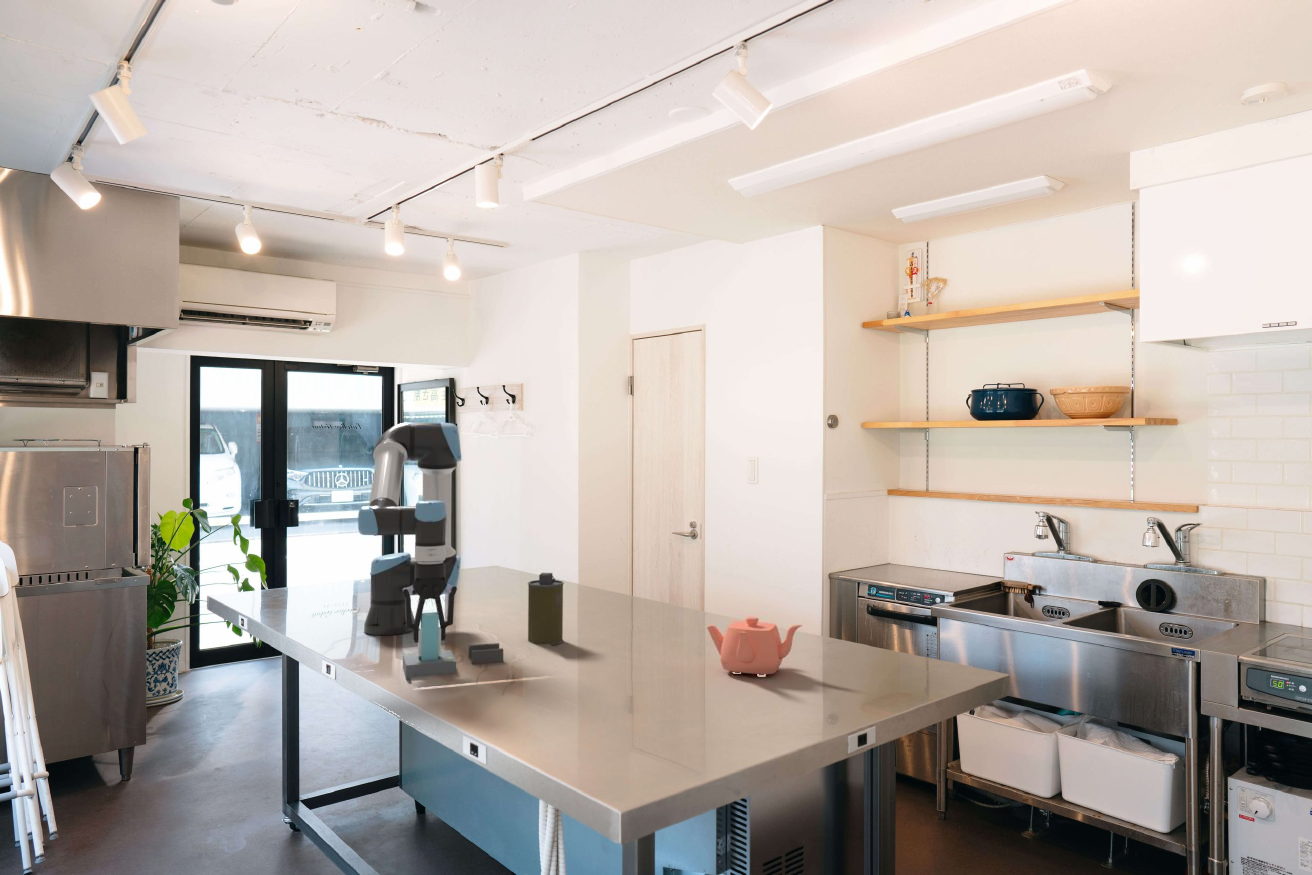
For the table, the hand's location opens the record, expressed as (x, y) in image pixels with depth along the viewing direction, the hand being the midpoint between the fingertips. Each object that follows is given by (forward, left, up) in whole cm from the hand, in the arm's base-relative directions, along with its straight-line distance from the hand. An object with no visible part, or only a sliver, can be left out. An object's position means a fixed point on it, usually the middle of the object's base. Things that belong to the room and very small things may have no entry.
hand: (429, 654), depth 212 cm
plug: (0, 0, -2) cm, 2 cm away
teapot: (+27, +78, -5) cm, 83 cm away
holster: (-5, +15, -4) cm, 16 cm away
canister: (-22, +35, -5) cm, 42 cm away
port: (0, 0, -4) cm, 4 cm away
